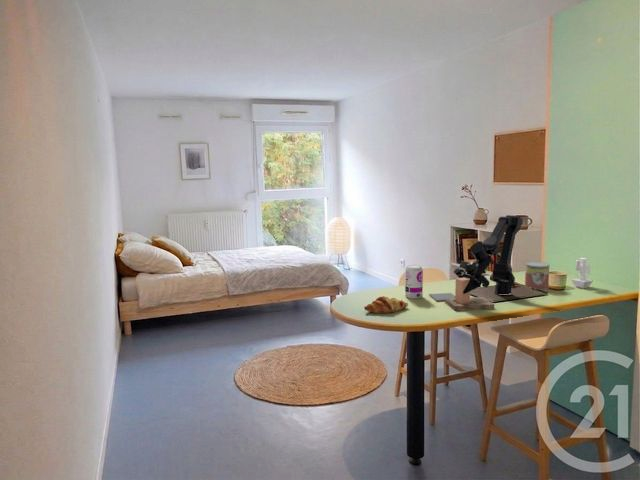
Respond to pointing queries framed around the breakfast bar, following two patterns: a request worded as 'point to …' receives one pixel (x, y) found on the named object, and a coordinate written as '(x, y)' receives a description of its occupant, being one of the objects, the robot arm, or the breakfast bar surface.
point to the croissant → (385, 305)
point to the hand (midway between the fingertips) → (460, 291)
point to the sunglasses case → (511, 284)
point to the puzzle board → (474, 304)
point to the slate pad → (442, 296)
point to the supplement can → (413, 281)
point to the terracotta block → (459, 295)
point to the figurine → (582, 274)
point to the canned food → (537, 275)
